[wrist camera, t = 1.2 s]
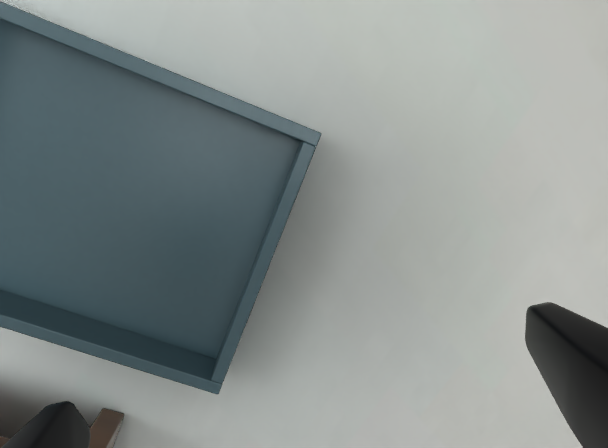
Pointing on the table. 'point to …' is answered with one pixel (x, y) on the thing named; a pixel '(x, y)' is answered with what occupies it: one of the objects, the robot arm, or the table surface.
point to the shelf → (99, 430)
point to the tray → (134, 203)
